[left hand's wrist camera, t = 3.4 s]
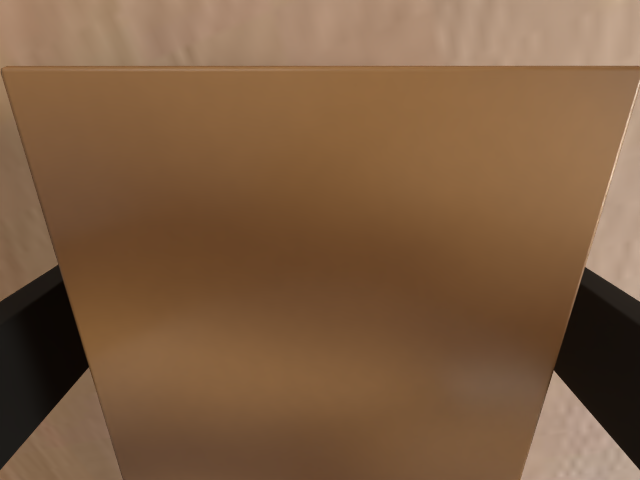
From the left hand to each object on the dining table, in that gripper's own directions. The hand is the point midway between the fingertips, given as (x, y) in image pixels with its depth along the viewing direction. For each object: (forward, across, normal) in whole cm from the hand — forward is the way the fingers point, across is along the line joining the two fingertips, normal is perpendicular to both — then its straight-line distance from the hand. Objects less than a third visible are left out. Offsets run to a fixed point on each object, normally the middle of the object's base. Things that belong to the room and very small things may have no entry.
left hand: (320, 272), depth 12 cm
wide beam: (+2, 0, -22) cm, 22 cm away
